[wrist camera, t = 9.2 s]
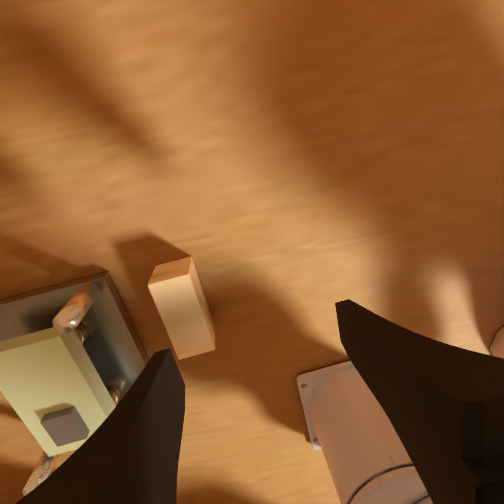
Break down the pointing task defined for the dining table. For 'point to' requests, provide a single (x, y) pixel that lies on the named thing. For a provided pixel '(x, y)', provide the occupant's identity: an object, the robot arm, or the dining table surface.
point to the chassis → (80, 335)
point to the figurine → (498, 344)
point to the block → (183, 307)
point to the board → (53, 388)
